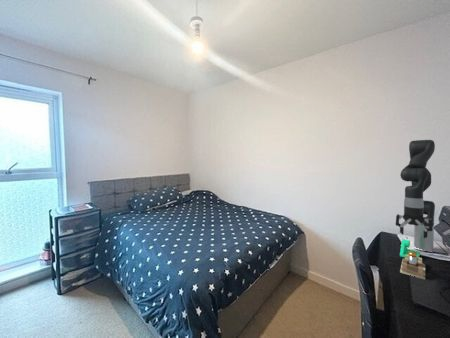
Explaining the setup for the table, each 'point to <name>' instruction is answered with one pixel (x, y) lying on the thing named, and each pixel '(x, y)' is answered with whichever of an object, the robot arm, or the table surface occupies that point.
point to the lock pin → (412, 258)
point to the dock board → (413, 268)
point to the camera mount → (404, 249)
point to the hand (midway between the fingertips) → (413, 235)
